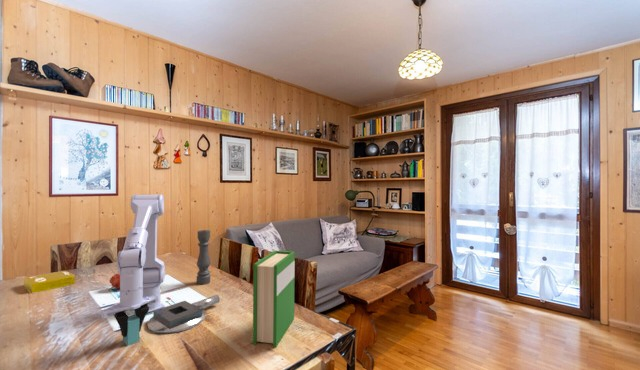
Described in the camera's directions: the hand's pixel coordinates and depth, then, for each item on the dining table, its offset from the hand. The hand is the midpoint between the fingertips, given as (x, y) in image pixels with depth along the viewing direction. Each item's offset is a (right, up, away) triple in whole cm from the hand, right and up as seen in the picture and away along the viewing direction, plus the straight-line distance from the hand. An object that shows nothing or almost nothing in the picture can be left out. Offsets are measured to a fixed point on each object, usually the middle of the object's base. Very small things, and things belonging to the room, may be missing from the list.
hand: (131, 333), depth 84 cm
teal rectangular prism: (0, -2, 0) cm, 2 cm away
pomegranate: (-34, -3, +42) cm, 54 cm away
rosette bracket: (+9, -3, +16) cm, 19 cm away
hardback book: (+43, -3, +7) cm, 43 cm away
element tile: (-69, -3, +46) cm, 83 cm away
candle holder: (+1, -3, +51) cm, 51 cm away
